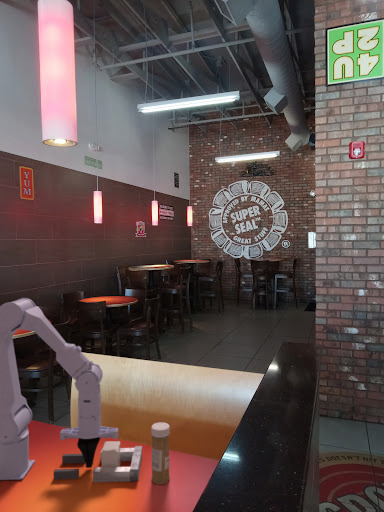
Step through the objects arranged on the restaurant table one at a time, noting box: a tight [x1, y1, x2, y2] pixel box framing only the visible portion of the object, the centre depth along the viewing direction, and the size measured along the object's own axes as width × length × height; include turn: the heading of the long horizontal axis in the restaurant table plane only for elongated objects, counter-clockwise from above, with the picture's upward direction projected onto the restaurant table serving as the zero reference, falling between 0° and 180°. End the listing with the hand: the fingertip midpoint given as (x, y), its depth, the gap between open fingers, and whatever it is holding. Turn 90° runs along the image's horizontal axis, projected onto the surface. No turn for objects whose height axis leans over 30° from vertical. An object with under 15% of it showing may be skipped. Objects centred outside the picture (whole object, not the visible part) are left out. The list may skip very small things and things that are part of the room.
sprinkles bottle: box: [150, 421, 171, 485], centre depth 92 cm, size 5×5×14 cm
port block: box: [92, 445, 143, 483], centre depth 96 cm, size 11×11×3 cm
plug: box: [101, 440, 121, 467], centre depth 96 cm, size 4×5×6 cm
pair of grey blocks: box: [53, 453, 85, 481], centre depth 96 cm, size 6×8×2 cm
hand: (89, 465), depth 96 cm, fingers closed
